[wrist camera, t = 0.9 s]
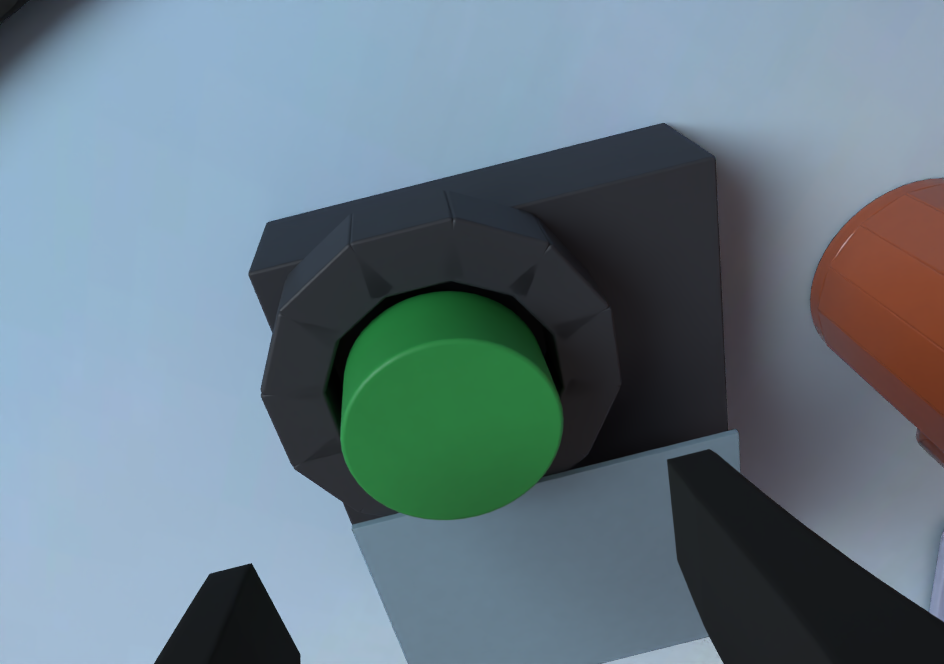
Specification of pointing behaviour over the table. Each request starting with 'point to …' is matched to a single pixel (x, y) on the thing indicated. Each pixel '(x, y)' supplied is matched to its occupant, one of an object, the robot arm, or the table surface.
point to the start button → (448, 407)
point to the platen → (545, 569)
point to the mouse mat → (10, 8)
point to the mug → (891, 303)
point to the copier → (516, 293)
